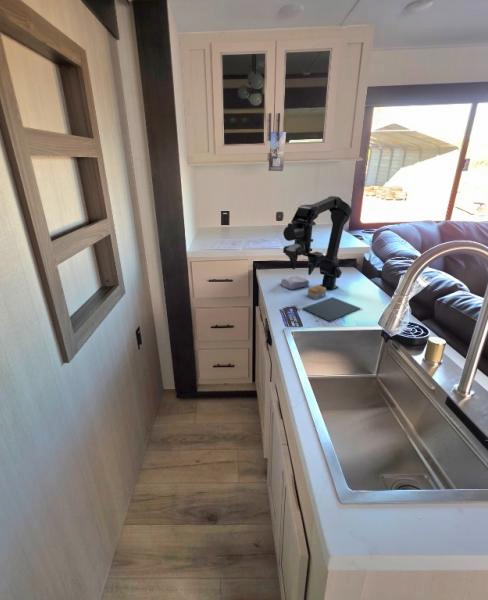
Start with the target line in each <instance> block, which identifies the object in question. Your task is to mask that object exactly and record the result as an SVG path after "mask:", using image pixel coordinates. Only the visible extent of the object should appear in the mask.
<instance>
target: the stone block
mask: <svg viewBox="0 0 488 600" xmlns="http://www.w3.org/2000/svg"><path fill="white" fill-rule="evenodd" d="M280 285H281V286H282V287H284V288H286V289H289V290H290V291H291V290H296V289H301V288H305V287H309V285H310V281H309V279H307V278H305V277H303V276H300V275H299V276H298V275H294V276H290V277H288V278H287V277H286V278H281V281H280Z"/></svg>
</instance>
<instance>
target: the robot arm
mask: <svg viewBox="0 0 488 600" xmlns="http://www.w3.org/2000/svg"><path fill="white" fill-rule="evenodd" d="M326 211H329V213H330V220H331V223H332V225H331V231H330V236H329V239H328V245H327V250H326V254H324V252H321V251H314V252H313V248H311V247H312V243H313V242H314V238H312V237H313V226H316V225H317V223H316V221H314V220H316V219H317V218H318V217H319V215H320V214H322V213H324V212H326ZM352 211H353V210H352V207H351V206H350V205H349V203H347V202H345V201H344V200H343V199H342V198H341V197H340V196H336V195H335V196H333V195H330V196H328V197H327V198H325V199H322V200H320V201H318V202H315V203H312V204H301V205H299V206H298V208H297V209H296V212H295V213H294V216H293V217H292V219H291V221H290V222H288V223H287V226H286V227H285V228H284V229H283V231H282V234H283V238H284V239H285V240H286V241H288V242H291V241H294V242H293V244H289V245H285V246H284V247H283V248H282V253H283V254H284V255H285V256H287V257H288V258H289V259H288V260H289V261H290V266H291V269H292V270H296V267H297V262H298V258H299V257H300V256H304V257H307V260H306V261H307V263H308V270H307V273H308V276H311V275H312V273H313V272H314V270H315V269H316V267H317V265H318V264H319V265H318V266H319V275H323V276H322V282H321V284H320V286H322V287H325V288H326V290H328V291H332V290H335V289H337V288H338V287H339V286H337V285H336V283H337V279H340V277H341V276H342V274H343V272H342V270H341V269H340V260H339V258H338V253H339V249H340V245H341V240H342V237H343V231H344V227H345V225H346V224H347V222H348V221H349V220H350V218H351V215H352Z"/></svg>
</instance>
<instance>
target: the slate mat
mask: <svg viewBox="0 0 488 600" xmlns="http://www.w3.org/2000/svg"><path fill="white" fill-rule="evenodd" d="M302 310H304V311H306V312H307V313H310V314H312V315H315V316H317V317H318V318H321V319H323V320H325V321H328V322H332V321H335V320H337V319H339V318H342V317H344V316H347V315H349V314H351V313H354V312H356V311H359V310H361V308H360V307H358V306H355V305H353V304H351V303H348V302H346V301H343V300H340V299H338V298H335V297H330V298H327V299H325V300H321V301H319V302H316V303H314V304H311V305H308V306H305V307H302Z"/></svg>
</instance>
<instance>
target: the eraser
mask: <svg viewBox="0 0 488 600" xmlns="http://www.w3.org/2000/svg"><path fill="white" fill-rule="evenodd" d="M320 285H321V284H320ZM320 285H319V284H317V285H314V286H310V287H308V288H307V298H310V299H314V300H317V299H320V298H323V297H326V292H327V289H326V288H325V287H322V286H320Z"/></svg>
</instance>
